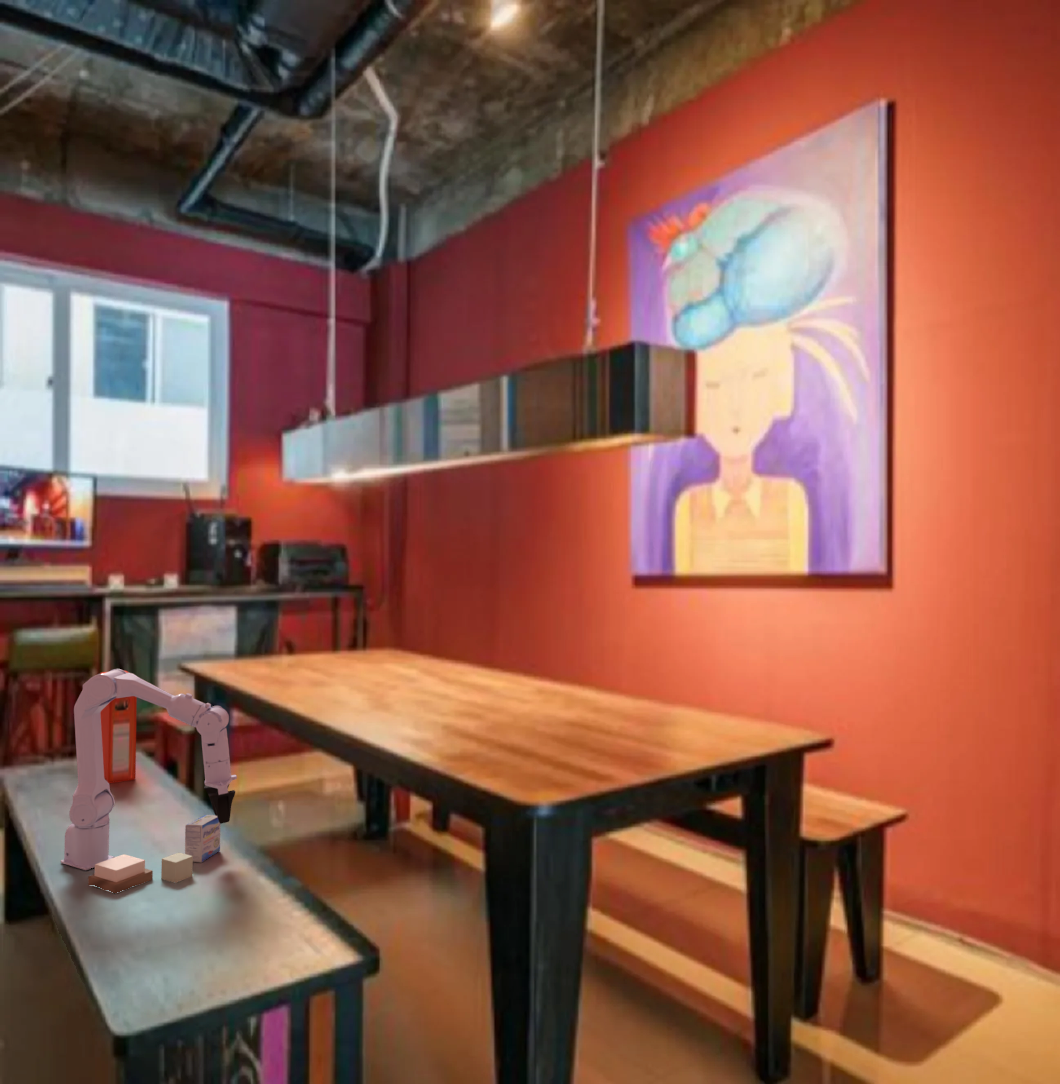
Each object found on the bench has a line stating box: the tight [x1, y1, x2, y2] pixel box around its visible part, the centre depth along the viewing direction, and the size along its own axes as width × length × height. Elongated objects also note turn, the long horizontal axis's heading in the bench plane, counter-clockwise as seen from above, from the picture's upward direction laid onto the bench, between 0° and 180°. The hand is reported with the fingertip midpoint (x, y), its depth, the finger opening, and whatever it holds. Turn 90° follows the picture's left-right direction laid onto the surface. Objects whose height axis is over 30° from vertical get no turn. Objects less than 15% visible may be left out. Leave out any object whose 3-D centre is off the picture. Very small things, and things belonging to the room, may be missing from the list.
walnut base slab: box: [87, 868, 154, 894], centre depth 182 cm, size 9×9×2 cm
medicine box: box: [184, 814, 221, 863], centre depth 198 cm, size 8×4×9 cm, turn 168°
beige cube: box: [160, 852, 194, 884], centre depth 185 cm, size 4×4×4 cm
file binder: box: [99, 670, 138, 784], centre depth 266 cm, size 8×17×32 cm, turn 36°
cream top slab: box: [94, 853, 146, 882], centre depth 181 cm, size 7×7×2 cm
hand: (222, 818), depth 194 cm, fingers open, 7 cm apart
